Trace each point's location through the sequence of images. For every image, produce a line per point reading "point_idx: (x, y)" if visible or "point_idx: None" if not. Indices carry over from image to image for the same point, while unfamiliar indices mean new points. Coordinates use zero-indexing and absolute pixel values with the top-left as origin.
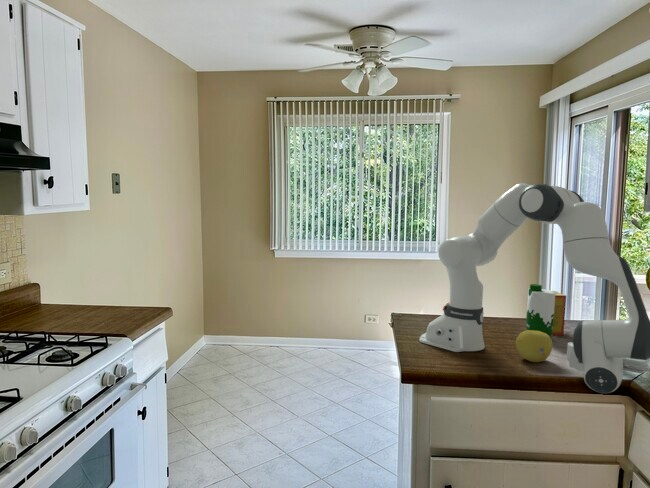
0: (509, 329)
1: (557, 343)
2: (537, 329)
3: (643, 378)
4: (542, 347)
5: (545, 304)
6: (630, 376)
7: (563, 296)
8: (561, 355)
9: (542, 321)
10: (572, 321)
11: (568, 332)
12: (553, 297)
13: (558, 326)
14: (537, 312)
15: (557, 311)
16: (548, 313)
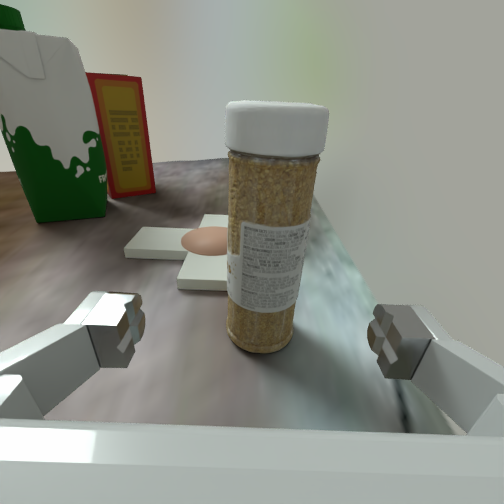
0: (12, 197)
1: (117, 225)
2: (44, 189)
3: (439, 414)
4: None
5: (38, 87)
6: (381, 423)
7: (132, 79)
8: (74, 302)
9: (51, 158)
10: (191, 161)
11: (172, 183)
12: (64, 56)
13: (138, 172)
14: (18, 124)
15: (125, 128)
16: (64, 126)
